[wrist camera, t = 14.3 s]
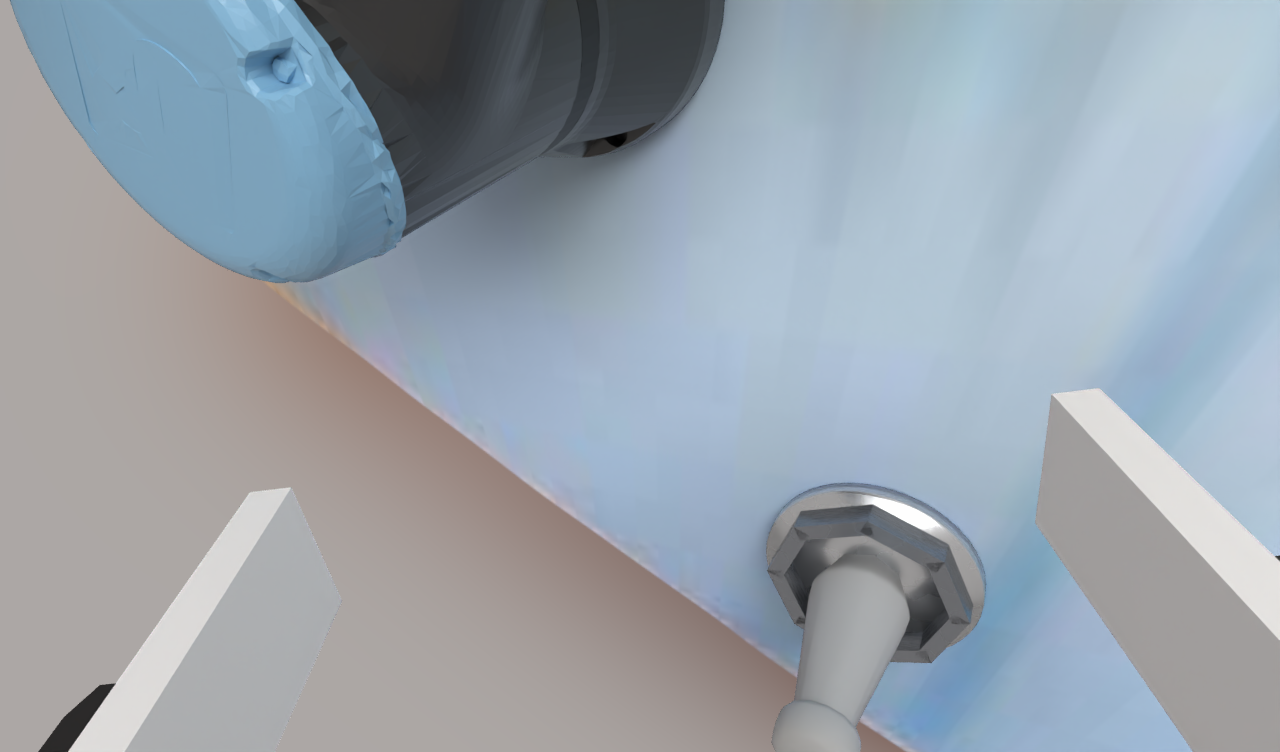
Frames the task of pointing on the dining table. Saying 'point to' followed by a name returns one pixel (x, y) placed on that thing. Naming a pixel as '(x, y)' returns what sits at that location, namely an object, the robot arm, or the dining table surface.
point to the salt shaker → (842, 654)
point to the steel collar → (882, 559)
